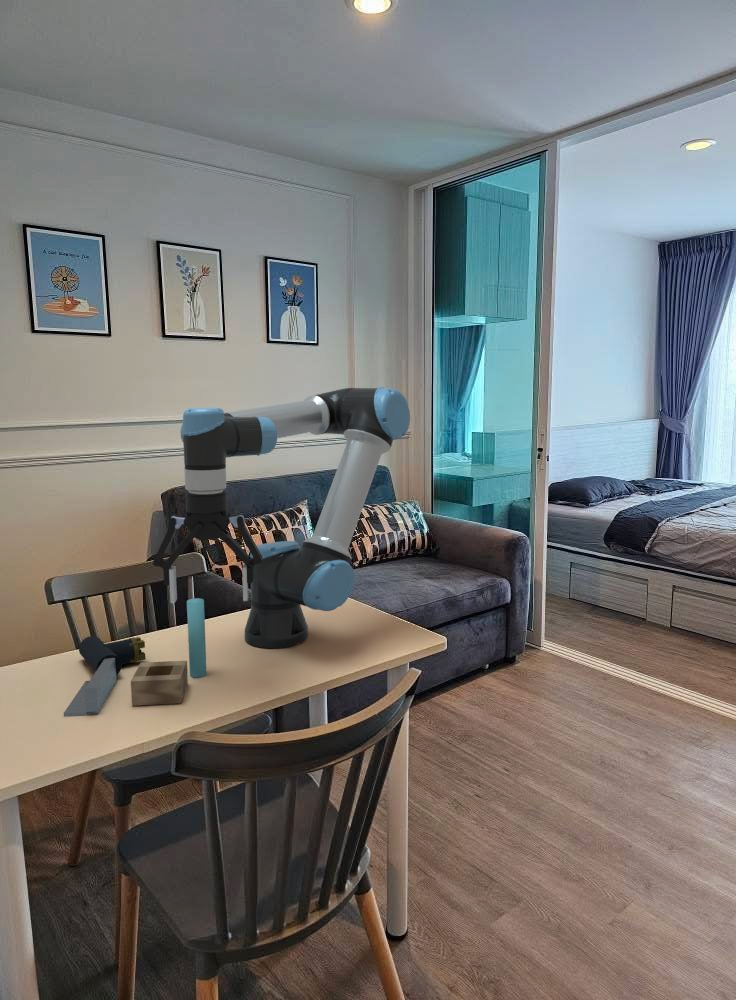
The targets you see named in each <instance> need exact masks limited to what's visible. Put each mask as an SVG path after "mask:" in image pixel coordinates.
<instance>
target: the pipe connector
mask: <svg viewBox="0 0 736 1000" xmlns="http://www.w3.org/2000/svg"><path fill="white" fill-rule="evenodd" d="M145 642H146V641H144V640H143V639H142V638H141V637H140V636H137V637H135V636H133V637H128V638H126V639H122V640H116V641H113V642H106V643H104V642H103V641H102V639H100V638H99V637H98V636H96V635H95V636H94V635H91V636H87V637H84V639H82V640H81V641H80V644H79V646H78V651H79V652H78V653H79V654H80V656H81V657H82V658H83V659H84V661H85V662H86V663H87V664H88V665H89V667H91V669H92V670H93V671H94V673H95V672H96V671H97V669H98V668H99V666H100V665H101V663H102V662H103V660H104V659H105V658H115V664H116V677H117V676H118V675H119V674H120V673H121V670H122V667H123V665H125V664H129V663H130V664H131V663H137V662H140V661H144V660H146V657H147V656H146V652H144V651H142V649H144V648H146V645H145Z"/></svg>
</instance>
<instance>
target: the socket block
mask: <svg viewBox="0 0 736 1000" xmlns="http://www.w3.org/2000/svg"><path fill="white" fill-rule="evenodd" d="M188 683H189V678H188V660H171V661H148V662H147V661H145V662H140V663H139V665H138V666H137V669H136V671H135V672H134V675H133V676H132V678H131V680H130V693H131V695H130V696H131V706H132V707H133V706H149V705H150V706H151V705H169V704H170V705H171V704H182V702H183V698H184V696H185V693H186V690H187V687H188Z"/></svg>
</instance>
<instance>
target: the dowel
mask: <svg viewBox="0 0 736 1000" xmlns="http://www.w3.org/2000/svg"><path fill="white" fill-rule="evenodd" d="M186 613H187V615H186V616H187V638H188V639H187V641H188V656H189V657H188V659H189V661H188V662H189V666H188V667H189V677H190V678H192V679H199V678H205V676H207V674H208V673H207V650H206V623H205V621H206V619H205V599H203V598H200V597H196V598H190V599H188V600H186Z"/></svg>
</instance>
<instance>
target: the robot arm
mask: <svg viewBox="0 0 736 1000" xmlns="http://www.w3.org/2000/svg"><path fill="white" fill-rule="evenodd" d="M410 412H411V410H410V407H409V403H408V400H407V398H406V397H405V396H404V395H403V394H402V392H401V391H399V390H397V389H396V388H388V387H385V386H384V387H382V386H380V387H373V388H372V387H346V388H341V389H336V390H331V391H327V392H322V393H318V394H313V395H309V396H307V397H305V399H304V400H301V401H295V402H289V403H281V404H274V405H268V406H262V407H255V408H249V409H241V410H236V411H229V412H224V410H223V409H222V408H220V407H191V408H187V409H185V410H184V411H183V414H182V424H181V427H180V439H181V442H182V443H183V460H184V461H183V463H184V488H185V490H186V491H187V492H186V493H185V510H186V511H185V517H178V516H177V515H172V516H171V517H170V518H169V520H168V528H167V532H166V533H165V535H164V538H163V540H162V541H161V544H160V547H159V548H158V550H157V553H156V555H155V557H154V559H153V560H152V565H153V567H159V568H161V569H162V570H163V584H164V585H165V586H169V595H170V596H169V598H170V599H169V601H170V604H175V603H176V601H177V600H178V593H177V592H178V591H177V590H178V589H177V570H176V568H177V567H176V565H175V566H173V564H174V562H175V561H176V560H177V559H178V558H179V556H180V555H181V554H182V553H183V552H184V551H185V549H186V548H187V546H189V544H191V542H192V540H194V538H195V539H196V540H198V541H200V542H201V541H205V540H207V541H216V540H218V539H220V540H221V541H222V542H223V543H225V544H226V546H227V547H228V548H229V549H231V551H232V552H233V553H234V555H236V556H237V557H238V558H239V559H240V561H242V563H243V565H242V567H241V568H242V569H241V570H242V600H243V602H248V600H249V584H250V599H251V600H250V604H251V605H250V606H251V608H250V611H249V614H248V617H247V620H246V624H245V627H244V641H245V642H246V643H247V644H248V645H250V646H253V647H256V648H261V649H262V648H263V649H282V648H290V647H293V646H296V645H299V644H302V643H303V642H305V641H306V640H307V639H308V637H309V626H308V623H307V621H306V617H305V614H304V612H303V608H302V606H303V607H307V608H309V609H312V610H313V611H314V610H315V611H323V612H331V611H334V610H336V609H337V608H339V607H341V606H342V605H344V604H345V603H346V602H347V601H348V600H349V598H350V596H351V593H352V592H353V589H354V587H355V581H356V579H355V577H354V575H355V571H354V568H353V567H352V565H351V563H352V562H351V561H352V559H353V558H352V555H351V553H350V551H349V547H350V545H351V542H352V539H353V536H354V533H355V531H356V528H357V525H358V522H359V519H360V516H361V513H362V511H363V507H364V505H365V502H366V499H367V497H368V493H369V490H370V488H371V486H372V482H373V479H374V477H375V473H376V470H377V468H378V465H379V462H380V459H381V456H382V455H383V454H386V453H388V452H390V451H391V448H392V445H393V442H394V440H398V439H400V438H402V437H404V436H405V435H406V434H407V433H408V430H409V427H410V423H411V414H410ZM307 433H310V434H312V435H315V436H318V435H319V436H320V435H325V434H327V435H329V434H333V435H341V436H344V438H345V441H346V444H345V448H344V449H343V452H342V455H341V457H340V461H339V463H338V466H337V468H336V471H335V474H334V477H333V480H332V483H331V486H330V487H329V490H328V493H327V495H326V499H325V502H324V504H323V508H322V510H321V512H320V515H319V517H318V520H317V522H316V523H317V524H316V525H315V528H314V532H313V535H312V536H311V537H309V538H307V539H305V540H303V542H302V545H301V546H300V543H299V542H298V541H294V540H293V541H292V540H284V541H274V542H266V543H262V544H258V545H257V544H256V542H255V540H254V539H253V536H252V535H251V534H250V532H249V530H248V527H247V526H246V521H245V520H246V519H245V516H244V515H243V514H239V515H236V516H229V514H228V501H227V499H228V497H227V496H228V495H227V492H226V491H225V489H226V488H227V468H226V467H227V459H226V458H233V457H247V456H248V457H249V456H257V457H259V456H260V455H266V454H269V453H271V452H273V450H274V449H275V448H276V447H277V442H278V439H281V438H287V437H291V436H297V435H301V434H307ZM230 524H231V525H233V527H234V528H236V529H238V532H239V534H240V536H241V537H242V539H243V541H244V543H245V545H246V547H247V549H248V550H249V552H250V554H248V553H247V551H245V549H244V548H243V547H242V546H241V545H240V544H239V543H238V542H237V541H236V539H234V537H233V536H232V535H231V534H230V532H229V531H228V530H227V528H228V527H229V525H230ZM182 525H184V526H185V527H186V529H187V530H188V531H189V532H188V534H187V535H186V536H185V537H184V538H183V540H182V541H181V542H180V543H179V545H178V546H177V547H176V548H175V550H174V551H173V552H172V553H171V554H170V555H169V556H168V558H167V559H164V557H165V555H166V553H167V551H168V548H169V546H170V544H171V542H172V540H173V537H174V536H175V533H176V531H177V530H179V529H180V528H181V526H182Z"/></svg>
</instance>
